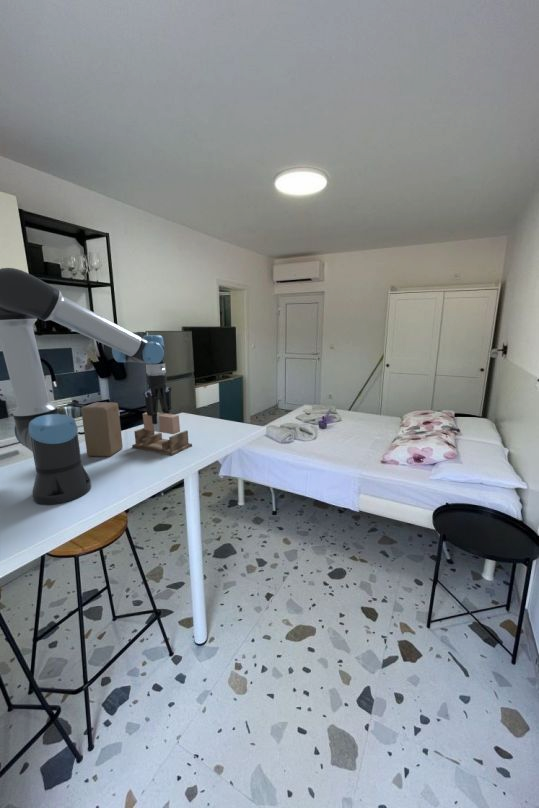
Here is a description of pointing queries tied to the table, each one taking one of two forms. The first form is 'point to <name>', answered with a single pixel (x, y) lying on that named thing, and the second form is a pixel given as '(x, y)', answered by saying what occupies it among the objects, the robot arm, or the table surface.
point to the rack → (161, 442)
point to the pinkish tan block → (163, 423)
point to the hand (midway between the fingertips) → (161, 429)
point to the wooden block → (102, 428)
